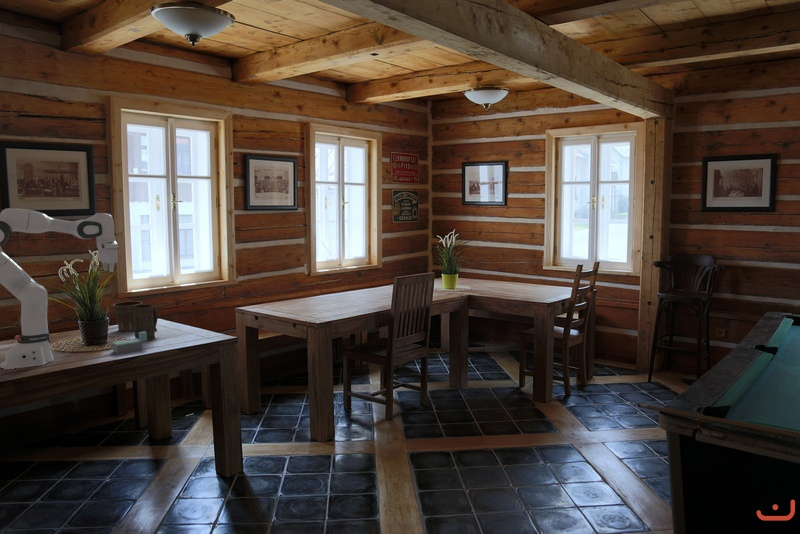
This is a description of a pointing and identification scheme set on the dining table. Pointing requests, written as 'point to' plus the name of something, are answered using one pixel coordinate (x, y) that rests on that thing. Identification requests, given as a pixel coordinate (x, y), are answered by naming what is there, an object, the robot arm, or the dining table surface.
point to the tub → (127, 348)
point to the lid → (141, 338)
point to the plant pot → (125, 315)
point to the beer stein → (145, 321)
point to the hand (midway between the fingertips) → (108, 271)
